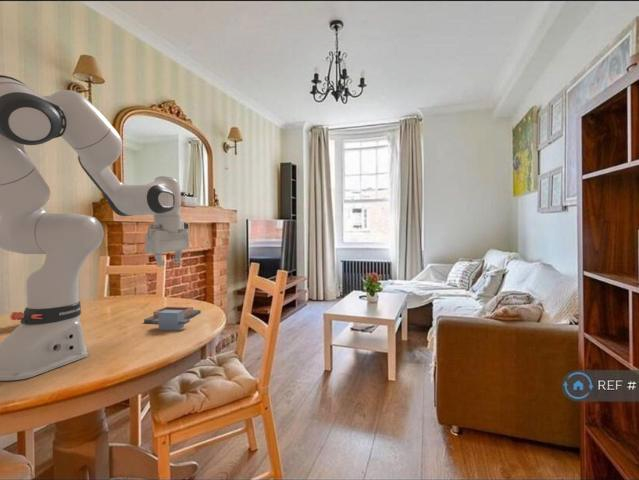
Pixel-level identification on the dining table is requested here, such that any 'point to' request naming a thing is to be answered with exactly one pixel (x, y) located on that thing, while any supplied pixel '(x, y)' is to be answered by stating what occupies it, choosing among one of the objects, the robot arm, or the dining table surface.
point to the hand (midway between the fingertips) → (169, 264)
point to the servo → (171, 319)
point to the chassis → (187, 310)
